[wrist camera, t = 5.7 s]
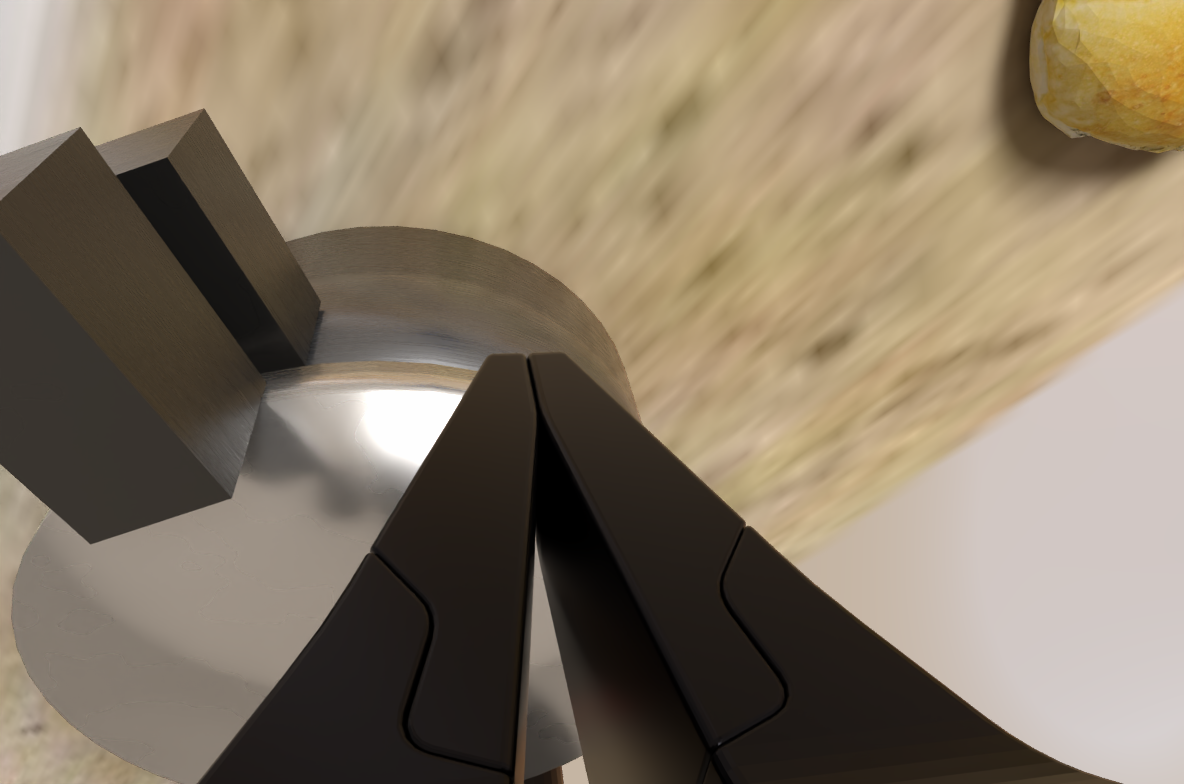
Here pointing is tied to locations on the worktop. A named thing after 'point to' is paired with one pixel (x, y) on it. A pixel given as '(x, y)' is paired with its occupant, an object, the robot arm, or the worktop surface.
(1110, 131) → the bread roll
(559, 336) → the cooker pot
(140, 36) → the worktop surface
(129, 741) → the cooker lid
